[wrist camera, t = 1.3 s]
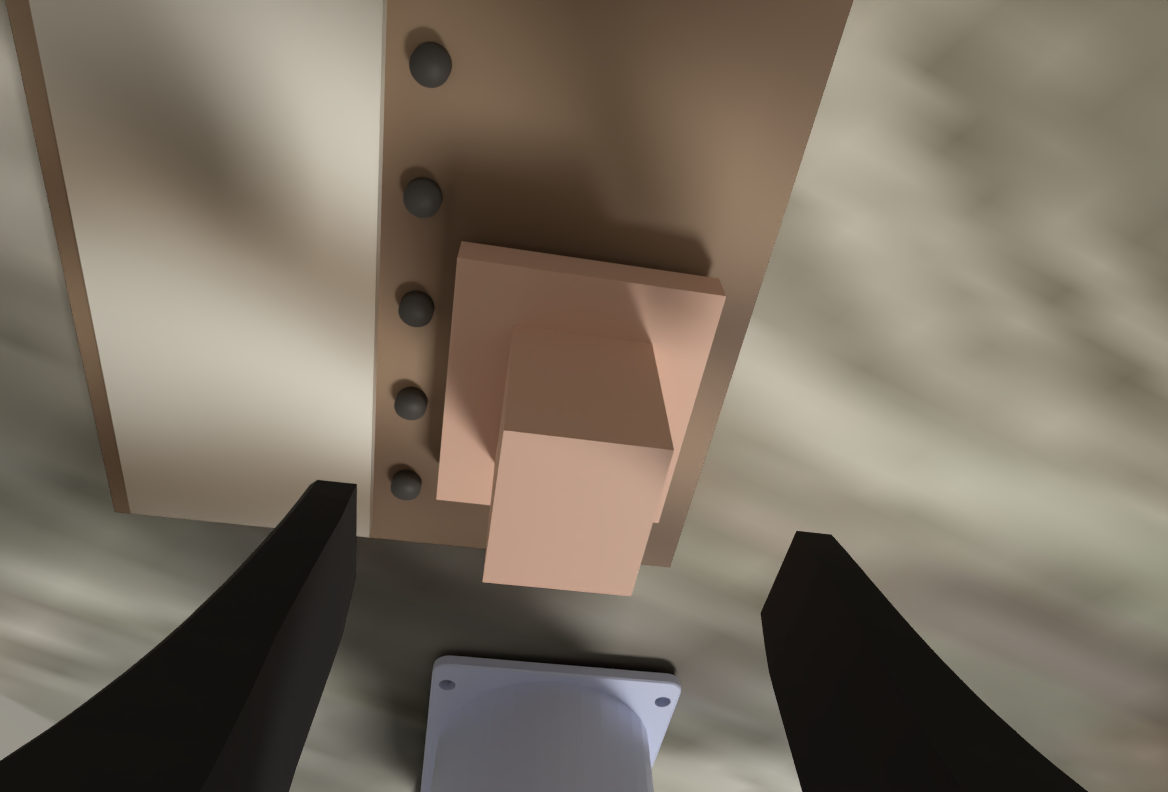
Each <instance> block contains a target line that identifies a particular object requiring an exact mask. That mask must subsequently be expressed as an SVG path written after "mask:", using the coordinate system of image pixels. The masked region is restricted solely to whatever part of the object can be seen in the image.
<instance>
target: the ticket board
mask: <svg viewBox="0 0 1168 792" xmlns="http://www.w3.org/2000/svg"><path fill="white" fill-rule="evenodd" d="M852 3H853V0H6V5H7V10H8V15H9V19H10V24H11V29H12V33H13V38H14V43H15V47H16V52H17V57H18V61H19V66H20V71H21V75H22V80H23V85H24V89H25V94H26V99H27V104H28V108H29V113H30V118H31V122H32V127H33V132H34V136H35V141H36V146H37V150H38V155H39V160H40V164H41V169H42V174H43V178H44V183H45V188H46V192H47V197H48V202H49V207H50V211H51V216H52V221H53V225H54V230H55V235H56V239H57V244H58V249H59V253H60V258H61V263H62V267H63V272H64V277H65V281H66V286H67V291H68V296H69V300H70V305H71V310H72V314H73V319H74V324H75V328H76V333H77V338H78V342H79V347H80V352H81V356H82V361H83V366H84V370H85V375H86V380H87V384H88V389H89V394H90V399H91V403H92V408H93V413H94V417H95V422H96V427H97V431H98V436H99V441H100V445H101V450H102V455H103V459H104V464H105V469H106V473H107V478H108V483H109V488H110V492H111V497H112V502H113V506H114V511H115V512H118V513H128V514H138V515H148V516H159V517H169V518H179V519H189V520H199V521H209V522H219V523H229V524H239V525H249V526H259V527H269V528H275V527H276V526H277V525H278V524H279V523H280V522H281V520H282V519H283V518H284V517H285V516H286V514H287V513H288V512H289V511H290V510H291V508H292V507H293V506H294V505H295V503H296V502H297V501H298V500H299V498H300V497H301V496H302V494H303V493H304V492H305V490H306V489H307V488H308V486H309V485H310V484H312V483H313V482H315V481H316V480H324V481H334V482H343V483H353V484H357V532H356V536H360V537H370V538H380V539H390V540H400V541H410V542H420V543H430V544H440V545H450V546H460V547H470V548H480V549H486V542H487V533H488V523H489V513H490V505H483V504H474V503H464V502H455V501H445V500H436V497H437V485H438V474H439V462H440V451H441V439H442V428H443V416H444V405H445V393H446V382H447V370H448V358H449V347H450V335H451V324H452V312H453V301H454V289H455V278H456V266H457V257H458V253H459V249H460V245H461V241H464V242H471V243H478V244H485V245H492V246H499V247H506V248H513V249H519V250H526V251H533V252H540V253H547V254H554V255H561V256H568V257H574V258H581V259H588V260H595V261H602V262H609V263H616V264H623V265H629V266H636V267H643V268H650V269H657V270H664V271H671V272H678V273H684V274H691V275H698V276H705V277H712V278H719V279H720V282H721V284H722V287H723V289H724V292H725V294H726V299H725V302H724V306H723V309H722V312H721V316H720V319H719V322H718V326H717V329H716V332H715V336H714V339H713V342H712V346H711V349H710V353H709V356H708V359H707V363H706V366H705V369H704V373H703V376H702V379H701V383H700V386H699V389H698V393H697V396H696V399H695V403H694V406H693V409H692V413H691V416H690V419H689V423H688V426H687V429H686V433H685V436H684V439H683V443H682V446H681V450H680V453H679V456H678V460H677V463H676V466H675V470H674V473H673V476H672V480H671V483H670V486H669V490H668V493H667V496H666V500H665V503H664V506H663V510H662V513H661V516H660V520H659V523H653V524H652V528H651V531H650V534H649V538H648V541H647V545H646V548H645V551H644V555H643V558H642V562H641V565H651V566H661V567H670V566H671V563H672V560H673V556H674V553H675V550H676V547H677V544H678V541H679V538H680V535H681V532H682V529H683V525H684V522H685V519H686V516H687V513H688V510H689V507H690V504H691V501H692V498H693V495H694V491H695V488H696V485H697V482H698V479H699V476H700V473H701V470H702V467H703V464H704V461H705V457H706V454H707V451H708V448H709V445H710V442H711V439H712V436H713V433H714V430H715V427H716V423H717V420H718V417H719V414H720V411H721V408H722V405H723V402H724V399H725V396H726V392H727V389H728V386H729V383H730V380H731V377H732V374H733V371H734V368H735V365H736V362H737V358H738V355H739V352H740V349H741V346H742V343H743V340H744V337H745V334H746V331H747V328H748V324H749V321H750V318H751V315H752V312H753V309H754V306H755V303H756V300H757V297H758V293H759V290H760V287H761V284H762V281H763V278H764V275H765V272H766V269H767V266H768V263H769V259H770V256H771V253H772V250H773V247H774V244H775V241H776V238H777V235H778V232H779V229H780V225H781V222H782V219H783V216H784V213H785V210H786V207H787V204H788V201H789V198H790V195H791V191H792V188H793V185H794V182H795V179H796V176H797V173H798V170H799V167H800V164H801V160H802V157H803V154H804V151H805V148H806V145H807V142H808V139H809V136H810V133H811V130H812V126H813V123H814V120H815V117H816V114H817V111H818V108H819V105H820V102H821V99H822V96H823V92H824V89H825V86H826V83H827V80H828V77H829V74H830V71H831V68H832V65H833V61H834V58H835V55H836V52H837V49H838V46H839V43H840V40H841V37H842V34H843V31H844V27H845V24H846V21H847V18H848V15H849V12H850V9H851V6H852Z"/></svg>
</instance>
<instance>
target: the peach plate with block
mask: <svg viewBox="0 0 1168 792" xmlns="http://www.w3.org/2000/svg"><path fill="white" fill-rule="evenodd" d="M725 299H726V294H725V292H724V289H723V287H722V284H721V282H720V279H719V278H712V277H705V276H698V275H691V274H684V273H678V272H671V271H664V270H657V269H650V268H643V267H636V266H629V265H623V264H616V263H609V262H602V261H595V260H588V259H581V258H574V257H568V256H561V255H554V254H547V253H540V252H533V251H526V250H519V249H513V248H506V247H499V246H492V245H485V244H478V243H471V242H464V241H461V245H460V249H459V253H458V257H457V266H456V278H455V289H454V301H453V312H452V324H451V335H450V347H449V358H448V370H447V382H446V393H445V405H444V416H443V428H442V439H441V451H440V462H439V474H438V485H437V497H436V500H445V501H455V502H464V503H474V504H483V505H490V513H489V523H488V533H487V542H486V552H485V562H484V572H483V582H486V583H496V584H507V585H517V586H528V587H539V588H549V589H560V590H570V591H581V592H591V593H602V594H613V595H623V596H632V592H633V589H634V585H635V582H636V579H637V575H638V572H639V568H640V565H641V562H642V558H643V555H644V551H645V548H646V545H647V541H648V538H649V534H650V531H651V528H652V524H653V523H659V520H660V516H661V513H662V510H663V506H664V503H665V500H666V496H667V493H668V490H669V486H670V483H671V480H672V476H673V473H674V470H675V466H676V463H677V460H678V456H679V453H680V450H681V446H682V443H683V439H684V436H685V433H686V429H687V426H688V423H689V419H690V416H691V413H692V409H693V406H694V403H695V399H696V396H697V393H698V389H699V386H700V383H701V379H702V376H703V373H704V369H705V366H706V363H707V359H708V356H709V353H710V349H711V346H712V342H713V339H714V336H715V332H716V329H717V326H718V322H719V319H720V316H721V312H722V309H723V306H724V302H725Z"/></svg>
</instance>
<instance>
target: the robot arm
mask: <svg viewBox="0 0 1168 792" xmlns="http://www.w3.org/2000/svg"><path fill="white" fill-rule="evenodd" d="M356 532H357V484H353V483H343V482H334V481H324V480H316V481H315V482H313V483H312V484H310V485H309V486H308V488H307V489H306V490H305V492H304V493H303V494H302V496H301V497H300V498H299V500H298V501H297V502H296V503H295V505H294V506H293V507H292V508H291V510H290V511H289V512H288V513H287V514H286V516H285V517H284V518H283V519H282V520H281V522H280V523H279V524H278V525H277V526H276V527H275V529H274V530H273V531H272V532H271V533H270V534H269V535H268V537H267V538H266V539H265V540H264V541H263V542H262V543H261V544H260V546H259V547H258V548H257V549H256V550H255V551H254V552H253V553H252V554H251V555H250V556H249V557H248V558H247V560H246V561H245V562H244V563H243V564H242V565H241V566H240V567H239V568H238V569H237V570H236V571H235V572H234V573H233V575H232V576H231V577H230V578H229V579H228V580H227V581H226V582H225V583H224V584H223V585H222V586H221V587H220V588H219V589H217V590H216V591H215V592H214V593H213V594H212V595H211V596H210V597H209V598H208V599H207V600H206V601H205V602H204V603H203V604H202V605H201V606H200V607H199V608H198V609H197V610H196V611H195V612H194V613H193V614H192V615H191V616H189V617H188V618H187V619H186V620H185V621H184V622H183V623H182V624H181V625H180V626H179V627H177V628H176V629H175V630H174V631H173V632H172V633H171V634H170V635H169V636H167V637H166V638H165V639H164V640H163V641H162V642H160V643H159V644H158V645H157V646H156V647H155V648H154V649H152V650H151V651H150V652H149V653H148V654H146V655H145V656H144V657H143V658H141V659H140V660H139V661H138V662H137V663H135V664H134V665H133V666H132V667H131V668H129V669H128V670H127V671H126V672H124V673H123V674H122V675H121V676H119V677H118V678H117V679H115V680H114V681H113V682H111V683H110V684H109V685H107V686H106V687H105V688H104V689H102V690H101V691H100V692H98V693H97V694H96V695H94V696H93V697H92V698H90V699H89V700H88V701H87V702H85V703H84V704H83V705H81V706H80V707H79V708H77V709H76V710H74V711H73V712H72V713H70V714H69V715H67V716H66V717H65V718H63V719H62V720H61V721H59V722H58V723H56V724H55V725H53V726H52V727H51V728H49V729H48V730H46V731H45V732H43V733H42V734H40V735H39V736H37V737H36V738H34V739H33V740H31V741H30V742H28V743H26V744H25V745H23V746H22V747H20V748H19V749H17V750H16V751H14V752H13V753H11V754H10V755H8V756H7V757H5V758H4V759H3V760H1V761H0V792H289V789H290V786H291V783H292V780H293V776H294V773H295V770H296V767H297V764H298V761H299V758H300V755H301V753H302V750H303V747H304V744H305V741H306V738H307V735H308V733H309V730H310V727H311V724H312V721H313V718H314V716H315V713H316V710H317V707H318V704H319V701H320V698H321V696H322V693H323V690H324V687H325V684H326V681H327V678H328V676H329V673H330V670H331V667H332V664H333V661H334V658H335V655H336V653H337V650H338V647H339V644H340V641H341V638H342V635H343V630H344V626H345V622H346V618H347V613H348V609H349V605H350V600H351V596H352V591H353V587H354V582H355V578H356ZM761 620H762V627H763V635H764V643H765V650H766V656H767V662H768V668H769V673H770V677H771V681H772V685H773V689H774V692H775V696H776V700H777V703H778V707H779V710H780V714H781V718H782V721H783V725H784V728H785V732H786V735H787V739H788V743H789V746H790V750H791V753H792V757H793V760H794V764H795V767H796V771H797V774H798V778H799V781H800V785H801V789H802V792H1088V791H1086V790H1085V789H1084V788H1083V787H1081V786H1080V785H1079V784H1078V783H1076V782H1075V781H1074V780H1073V779H1071V778H1070V777H1069V776H1068V775H1066V774H1065V773H1064V772H1063V771H1061V770H1060V769H1059V768H1058V767H1056V766H1055V765H1054V764H1053V763H1051V762H1050V761H1049V760H1048V759H1047V758H1046V757H1044V756H1043V755H1042V754H1041V753H1040V752H1038V751H1037V750H1036V749H1035V748H1034V747H1033V746H1031V745H1030V744H1029V743H1028V742H1027V741H1026V740H1025V739H1024V738H1022V737H1021V736H1020V735H1019V734H1018V733H1017V732H1016V731H1015V730H1014V729H1012V728H1011V727H1010V726H1009V725H1008V724H1007V723H1006V722H1005V721H1004V720H1002V719H1001V718H1000V717H999V716H998V715H997V714H996V713H995V712H994V711H993V710H991V709H990V708H989V707H988V706H987V705H986V704H985V703H984V702H983V701H982V700H981V699H980V698H979V697H978V696H977V695H976V694H975V693H974V692H973V691H972V690H971V689H970V688H969V687H968V686H967V685H966V684H965V683H964V682H963V681H962V680H961V679H960V678H959V677H958V676H957V675H956V674H955V673H954V672H953V671H952V670H951V669H950V668H949V667H948V666H947V665H946V664H945V663H944V662H943V661H942V660H941V658H940V657H939V656H938V655H937V654H936V653H935V652H934V651H933V650H932V649H931V648H930V647H929V646H928V645H927V643H926V642H925V641H924V640H923V639H922V638H921V637H920V636H919V635H918V634H917V632H916V631H915V630H914V629H913V628H912V627H911V626H910V625H909V624H908V622H907V621H906V620H905V619H904V618H903V617H902V616H901V615H900V613H899V612H898V611H897V610H896V609H895V608H894V606H893V605H892V604H891V603H890V602H889V601H888V600H887V598H886V597H885V596H884V595H883V594H882V593H881V591H880V590H879V589H878V588H877V587H876V586H875V584H874V583H873V582H872V581H871V580H870V579H869V577H868V576H867V575H866V574H865V573H864V571H863V570H862V569H861V568H860V567H859V566H858V564H857V563H856V562H855V561H854V560H853V559H852V557H851V556H850V555H849V554H848V553H847V552H846V550H845V549H844V548H843V547H842V546H841V545H840V544H839V543H838V541H837V540H836V539H835V538H834V537H833V536H832V535H830V534H820V533H811V532H802V531H796V533H795V536H794V538H793V540H792V543H791V545H790V547H789V549H788V552H787V554H786V556H785V559H784V561H783V563H782V565H781V568H780V570H779V572H778V575H777V577H776V579H775V581H774V584H773V586H772V588H771V591H770V593H769V595H768V598H767V600H766V602H765V604H764V607H763V609H762V611H761ZM680 693H681V685H680V680H679V679H678V677H676V676H675V675H673V674H668V673H657V672H645V671H633V670H621V669H608V668H596V667H584V666H572V665H560V664H548V663H536V662H524V661H512V660H500V659H488V658H476V657H464V656H452V655H449V656H443V657H440V658H438V659H437V660H435V662H434V665H433V671H432V681H431V691H430V701H429V711H428V721H427V731H426V741H425V751H424V762H423V772H422V782H421V792H654V788H653V779H652V767H653V764H654V762H655V759H656V756H657V754H658V751H659V748H660V746H661V743H662V741H663V738H664V735H665V733H666V730H667V727H668V725H669V722H670V720H671V717H672V714H673V712H674V709H675V706H676V704H677V701H678V699H679V696H680Z"/></svg>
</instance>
